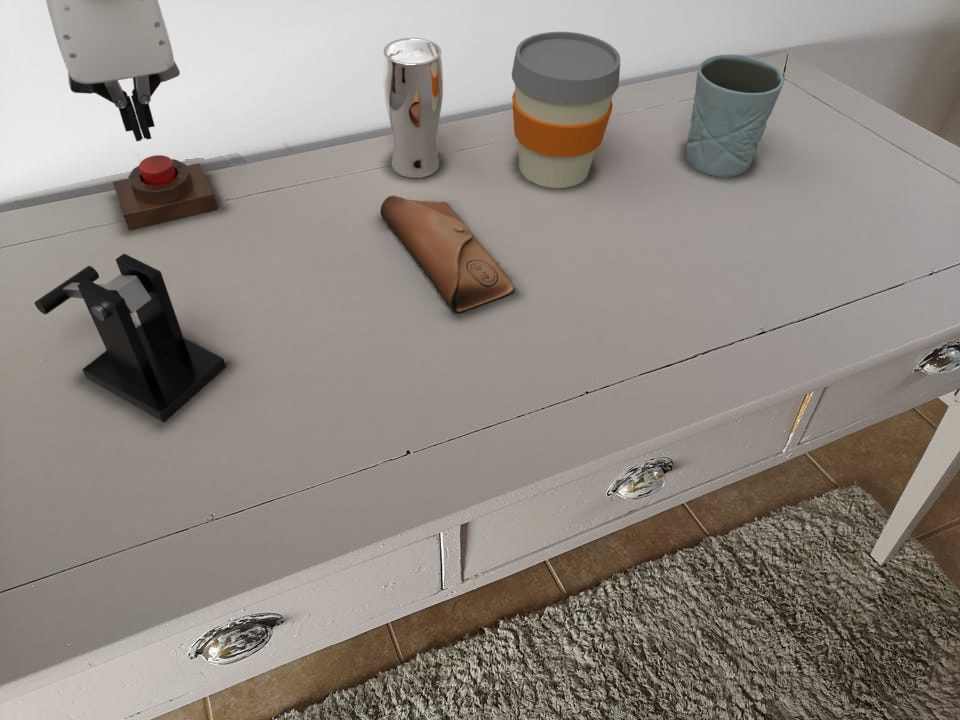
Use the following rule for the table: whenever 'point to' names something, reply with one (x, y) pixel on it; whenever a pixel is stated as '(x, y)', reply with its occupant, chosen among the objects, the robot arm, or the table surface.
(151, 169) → the button
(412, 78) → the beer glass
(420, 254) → the sunglasses case
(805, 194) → the table surface
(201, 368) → the bracket
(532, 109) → the reusable coffee cup
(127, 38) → the robot arm
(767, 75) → the embossed green cup
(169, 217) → the control block
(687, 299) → the table surface
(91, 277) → the lever
